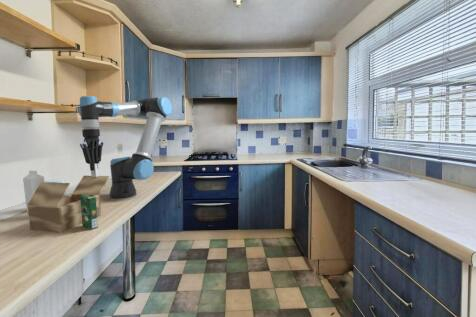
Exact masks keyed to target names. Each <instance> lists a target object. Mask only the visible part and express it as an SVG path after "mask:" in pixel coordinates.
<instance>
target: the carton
mask: <svg viewBox="0 0 476 317" xmlns="http://www.w3.org/2000/svg"><path fill="white" fill-rule="evenodd" d="M82 195H89V196H92V197H96V208H97V218H100V217H101V216H102V205H101V195H100V194H77V193H73V192H72V193H69V194H66V195H65V196H63V198H62V200H61V202H60V204H59V206H58V207H47V206H28V214H29V218H28V221H29V229H30V230H29V231H41V232H50V233H51V232H52V233H53V232H54V233H63V232H66V231H69V230H70V229H73V228H75V227H77V226H80V225H83V223H82V212H81V201H80V196H82Z"/></svg>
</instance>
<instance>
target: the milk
mask: <svg viewBox="0 0 476 317" xmlns="http://www.w3.org/2000/svg"><path fill="white" fill-rule="evenodd" d="M22 180H23V190H24V197H25V198H24V199H25V207H26V214H27V218H28V219H29V214H28V206H29V205H28V203H29V202H30V200H31V198H32V196H33V195H34V193H35V191H36V189H37V188H38V186H39V184H40V183H41V182H45V181H46V180H45V176H43V175H42V174H38V172H37V170H29V171H28V174H27V175H26V176H24V177H23V178H22Z"/></svg>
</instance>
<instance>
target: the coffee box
mask: <svg viewBox="0 0 476 317" xmlns="http://www.w3.org/2000/svg"><path fill="white" fill-rule="evenodd" d="M80 201H81V212H82V226H83V227H84V228H88V229H90V230H95V229H98V228H99V224H98V217H97V208H96V197H92V196H89V195H82V196H80Z"/></svg>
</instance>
